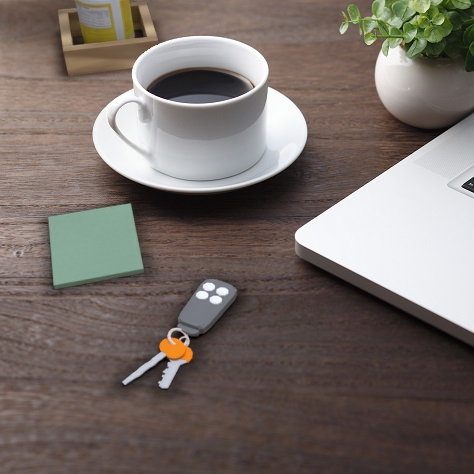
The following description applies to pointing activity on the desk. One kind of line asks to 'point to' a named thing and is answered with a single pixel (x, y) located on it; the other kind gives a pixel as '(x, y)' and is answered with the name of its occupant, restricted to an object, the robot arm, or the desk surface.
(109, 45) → the brown shallow square frame
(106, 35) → the pill bottle
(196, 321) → the key chain
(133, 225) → the green mat
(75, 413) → the desk surface
